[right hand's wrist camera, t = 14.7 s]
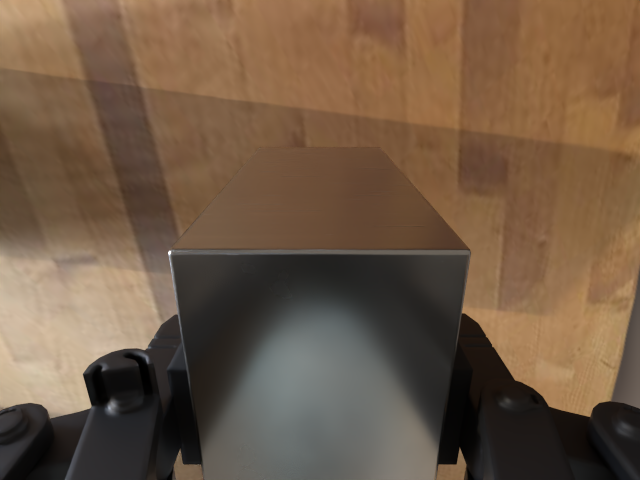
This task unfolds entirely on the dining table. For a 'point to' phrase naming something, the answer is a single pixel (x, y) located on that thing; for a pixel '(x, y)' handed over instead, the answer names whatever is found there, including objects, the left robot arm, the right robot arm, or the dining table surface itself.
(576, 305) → the dining table surface
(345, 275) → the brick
